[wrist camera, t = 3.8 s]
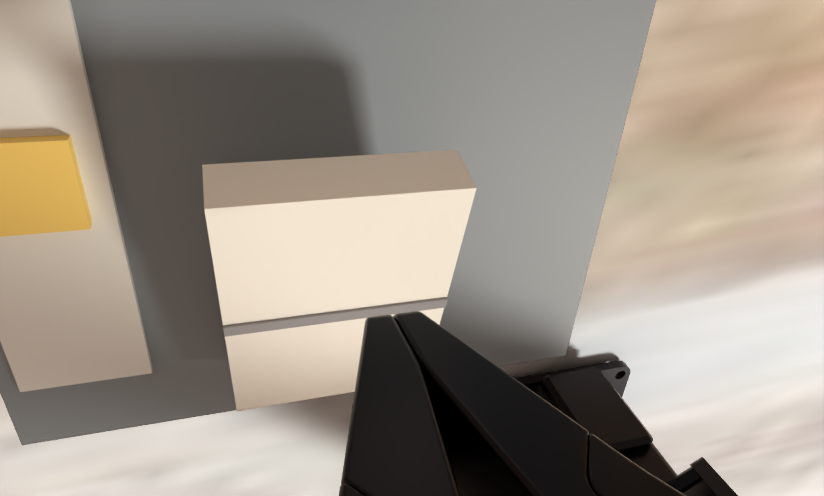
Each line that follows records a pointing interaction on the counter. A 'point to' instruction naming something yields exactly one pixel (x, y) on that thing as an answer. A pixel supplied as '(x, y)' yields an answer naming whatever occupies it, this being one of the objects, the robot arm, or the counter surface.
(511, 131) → the console
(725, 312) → the counter surface
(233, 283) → the block
